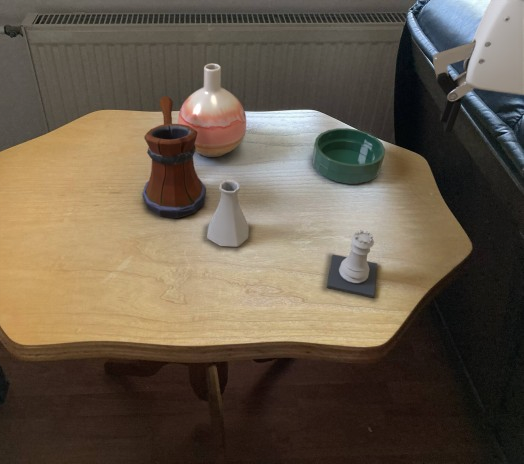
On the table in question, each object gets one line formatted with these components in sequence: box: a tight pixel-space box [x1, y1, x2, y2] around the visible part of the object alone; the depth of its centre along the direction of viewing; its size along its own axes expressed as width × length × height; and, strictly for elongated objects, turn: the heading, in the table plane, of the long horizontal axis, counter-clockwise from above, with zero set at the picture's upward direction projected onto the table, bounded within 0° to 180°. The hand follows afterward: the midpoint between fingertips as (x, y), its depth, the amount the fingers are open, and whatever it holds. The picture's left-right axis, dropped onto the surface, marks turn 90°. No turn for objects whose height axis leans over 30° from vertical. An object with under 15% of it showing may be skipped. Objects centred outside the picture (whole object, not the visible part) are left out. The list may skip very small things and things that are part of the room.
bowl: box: [311, 127, 386, 185], centre depth 100 cm, size 13×13×4 cm
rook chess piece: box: [339, 229, 375, 283], centre depth 76 cm, size 4×4×8 cm
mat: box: [326, 254, 378, 299], centre depth 79 cm, size 7×7×1 cm
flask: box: [206, 179, 250, 248], centre depth 83 cm, size 7×7×10 cm
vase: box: [177, 63, 248, 158], centre depth 100 cm, size 14×14×18 cm
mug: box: [141, 95, 207, 219], centre depth 90 cm, size 18×12×15 cm, turn 8°
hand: (489, 133), depth 61 cm, fingers open, 9 cm apart
